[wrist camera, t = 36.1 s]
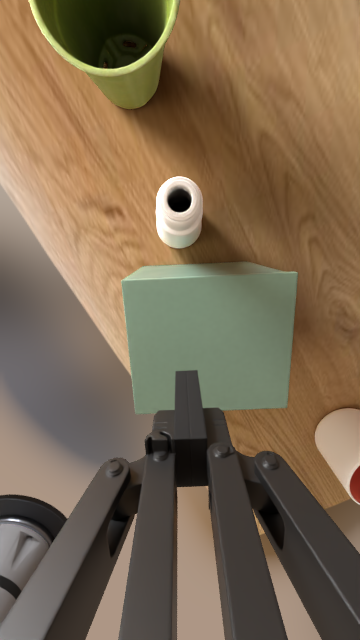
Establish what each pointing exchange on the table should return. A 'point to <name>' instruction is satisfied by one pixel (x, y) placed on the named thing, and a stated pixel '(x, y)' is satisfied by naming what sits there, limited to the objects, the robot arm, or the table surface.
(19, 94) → the table surface
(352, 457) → the cup
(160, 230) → the cosmetic bottle
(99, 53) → the plant pot
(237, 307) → the lid
